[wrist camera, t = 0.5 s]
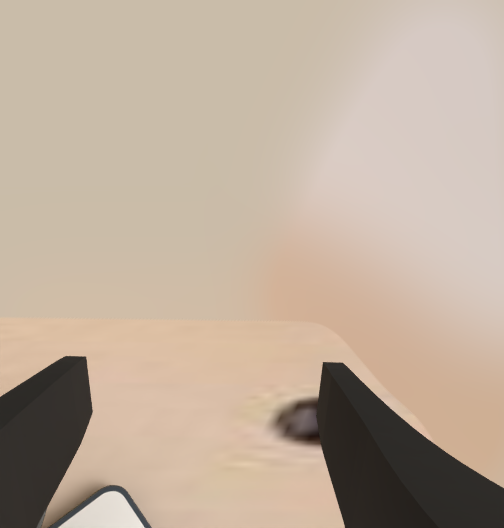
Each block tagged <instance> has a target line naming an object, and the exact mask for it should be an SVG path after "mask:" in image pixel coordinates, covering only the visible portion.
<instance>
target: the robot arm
mask: <svg viewBox="0 0 504 528" xmlns="http://www.w3.org/2000/svg"><path fill="white" fill-rule="evenodd" d="M92 413H93V411H92V402H91V394H90V386H89V377H88V369H87V360H86V357H79V356H65V357H63V358H61V359H60V360H58V361H56V362H55V363H53V364H51V365H50V366H48V367H46V368H45V369H43V370H42V371H40V372H39V373H37V374H36V375H34V376H32V377H31V378H29V379H28V380H26V381H25V382H23V383H21V384H20V385H18V386H17V387H15V388H14V389H12V390H10V391H9V392H7V393H6V394H4V395H2V396H1V397H0V528H37V526H38V524H39V522H40V520H41V518H42V516H43V514H44V512H45V510H46V509H47V507H48V505H49V503H50V501H51V499H52V497H53V495H54V494H55V492H56V490H57V488H58V486H59V484H60V482H61V481H62V479H63V477H64V475H65V473H66V471H67V469H68V467H69V465H70V464H71V462H72V460H73V458H74V456H75V454H76V452H77V450H78V448H79V446H80V444H81V442H82V439H83V437H84V434H85V432H86V429H87V426H88V424H89V421H90V418H91V415H92ZM316 417H317V423H318V429H319V435H320V441H321V446H322V450H323V454H324V457H325V461H326V464H327V468H328V471H329V474H330V478H331V481H332V484H333V488H334V491H335V494H336V498H337V501H338V504H339V508H340V511H341V514H342V518H343V521H344V525H345V528H504V488H502V487H500V486H499V485H497V484H495V483H494V482H492V481H490V480H489V479H487V478H485V477H484V476H482V475H480V474H479V473H477V472H476V471H474V470H472V469H471V468H469V467H468V466H466V465H464V464H463V463H461V462H460V461H458V460H457V459H455V458H454V457H452V456H451V455H449V454H448V453H446V452H445V451H443V450H442V449H441V448H439V447H438V446H437V445H435V444H434V443H432V442H431V441H430V440H428V439H427V438H426V437H424V436H423V435H422V434H420V433H419V432H418V431H417V430H415V429H414V428H413V427H412V426H410V425H409V424H408V423H407V422H406V421H404V420H403V419H402V418H401V417H400V416H398V415H397V414H396V413H395V412H394V411H393V410H392V409H390V408H389V407H388V406H387V405H386V404H385V403H384V402H383V401H382V400H381V399H380V398H378V397H377V396H376V395H375V394H374V393H373V392H372V391H371V390H370V389H369V388H368V387H367V386H366V385H365V384H364V383H363V382H362V381H361V380H360V379H359V378H358V377H357V376H356V375H355V374H354V373H353V372H352V371H351V370H350V369H349V368H348V367H347V366H346V365H345V364H344V363H333V362H323V367H322V375H321V383H320V391H319V399H318V407H317V415H316Z"/></svg>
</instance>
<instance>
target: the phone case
mask: <svg viewBox="0 0 504 528" xmlns="http://www.w3.org/2000/svg"><path fill="white" fill-rule="evenodd" d="M49 528H151V526H150V525H149V523H148V522H147V520H146V519H145V517H144V516H143V514H142V513H141V511H140V510H139V508H138V507H137V505H136V504H135V502H134V501H133V499H132V498H131V496H130V495H129V494H128V492H127V491H126V490H125V489H124V488H122V487H120V486H116V485H110V486H106V487H104V488H102V489H100V490H99V491H97V492H96V493H95V494H93V495H92V496H90V497H89V498H88V499H86V500H85V501H84V502H82V503H81V504H80V505H78V506H77V507H76V508H74V509H73V510H72V511H70V512H69V513H68V514H66V515H65V516H63V517H62V518H61V519H59V520H58V521H57V522H55V523H54V524H53V525H51V526H50V527H49Z"/></svg>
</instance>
